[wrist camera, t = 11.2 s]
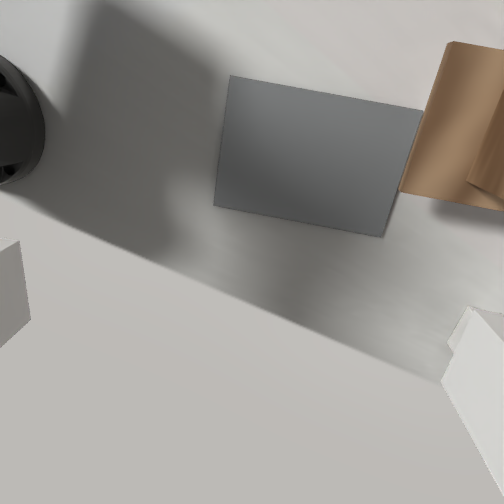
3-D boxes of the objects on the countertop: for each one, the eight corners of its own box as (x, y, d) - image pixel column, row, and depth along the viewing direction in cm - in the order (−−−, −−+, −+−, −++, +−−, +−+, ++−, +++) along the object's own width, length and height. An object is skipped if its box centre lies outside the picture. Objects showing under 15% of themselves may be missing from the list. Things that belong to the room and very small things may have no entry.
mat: (214, 204, 43) (213, 205, 43) (230, 75, 38) (229, 75, 37) (379, 235, 43) (380, 237, 42) (421, 110, 37) (423, 110, 37)
